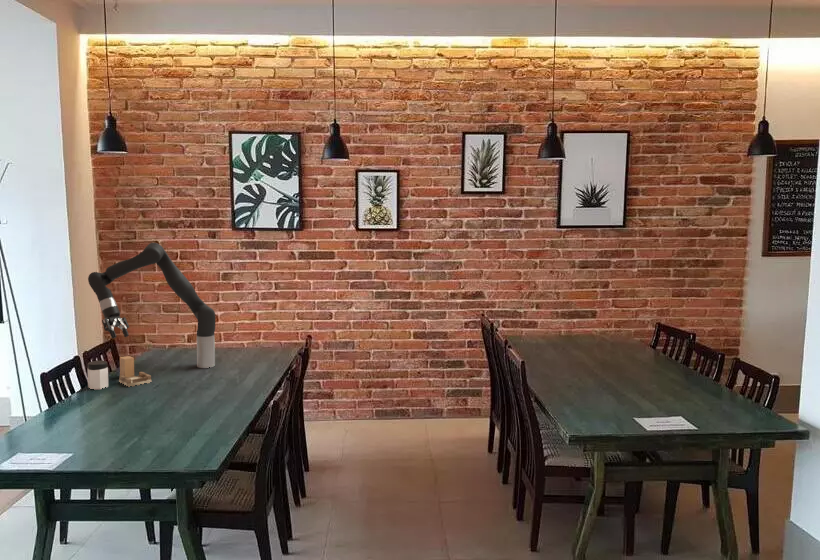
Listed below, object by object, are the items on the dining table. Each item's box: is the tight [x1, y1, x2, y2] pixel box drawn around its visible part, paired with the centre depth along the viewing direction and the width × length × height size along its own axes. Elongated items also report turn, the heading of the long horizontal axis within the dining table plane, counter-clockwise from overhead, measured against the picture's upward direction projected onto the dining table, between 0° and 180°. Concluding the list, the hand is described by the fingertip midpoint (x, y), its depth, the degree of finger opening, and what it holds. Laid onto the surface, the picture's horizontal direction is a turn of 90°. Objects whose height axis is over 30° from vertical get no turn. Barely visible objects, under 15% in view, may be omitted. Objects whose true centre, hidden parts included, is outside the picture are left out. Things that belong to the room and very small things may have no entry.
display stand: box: [118, 371, 153, 388], centre depth 286 cm, size 11×11×4 cm
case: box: [119, 355, 135, 378], centre depth 295 cm, size 6×4×10 cm
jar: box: [87, 360, 109, 390], centre depth 277 cm, size 9×8×12 cm
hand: (120, 337), depth 297 cm, fingers open, 8 cm apart
